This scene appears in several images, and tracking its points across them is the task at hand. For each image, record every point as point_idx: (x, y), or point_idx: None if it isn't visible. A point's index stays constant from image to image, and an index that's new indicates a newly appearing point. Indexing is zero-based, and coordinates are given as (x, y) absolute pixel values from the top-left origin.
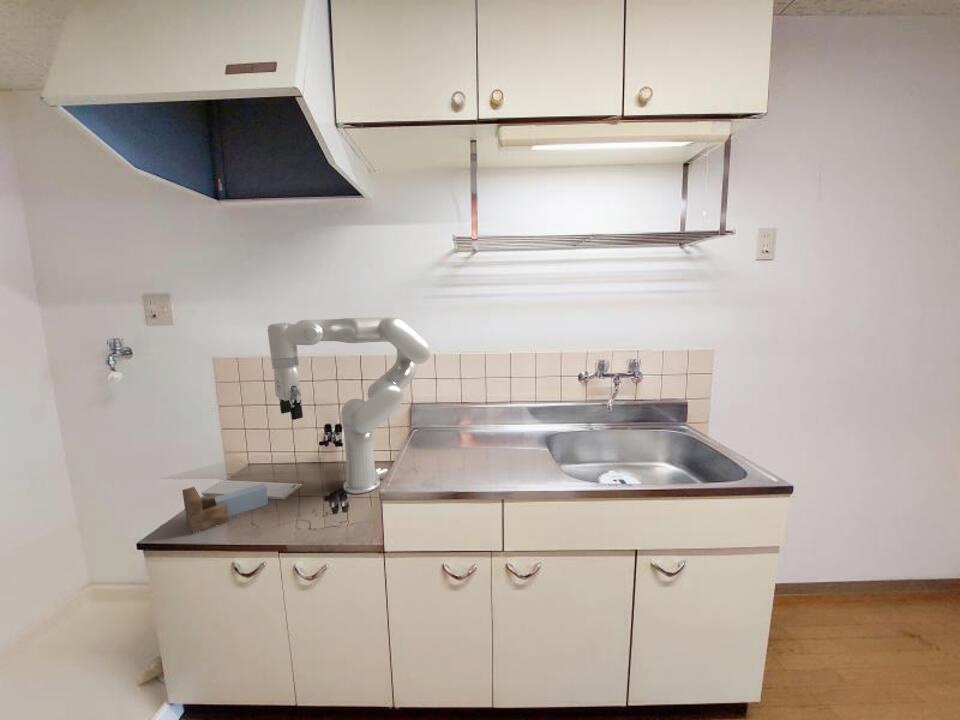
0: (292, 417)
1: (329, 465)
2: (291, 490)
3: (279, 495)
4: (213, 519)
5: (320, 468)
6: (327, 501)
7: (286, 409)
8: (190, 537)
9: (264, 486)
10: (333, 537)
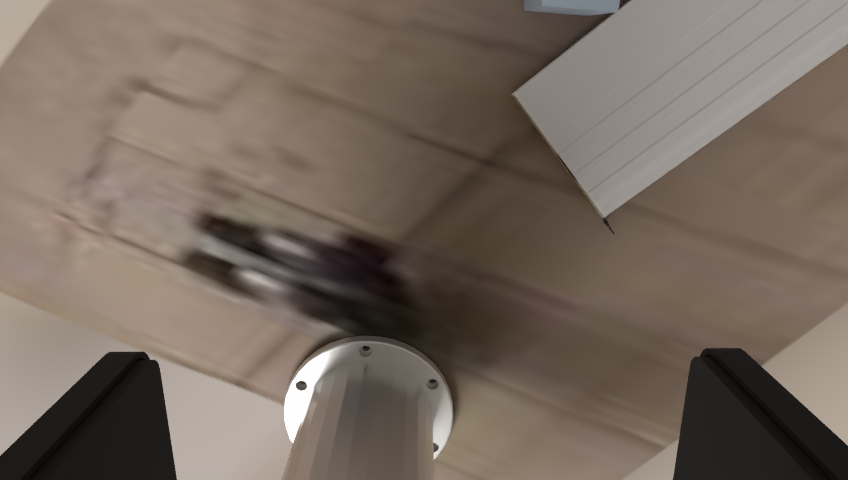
0: (93, 375)
1: None
2: (560, 149)
3: (551, 81)
4: None
5: None
6: (334, 238)
7: (709, 464)
8: None
9: (571, 2)
10: (3, 132)
